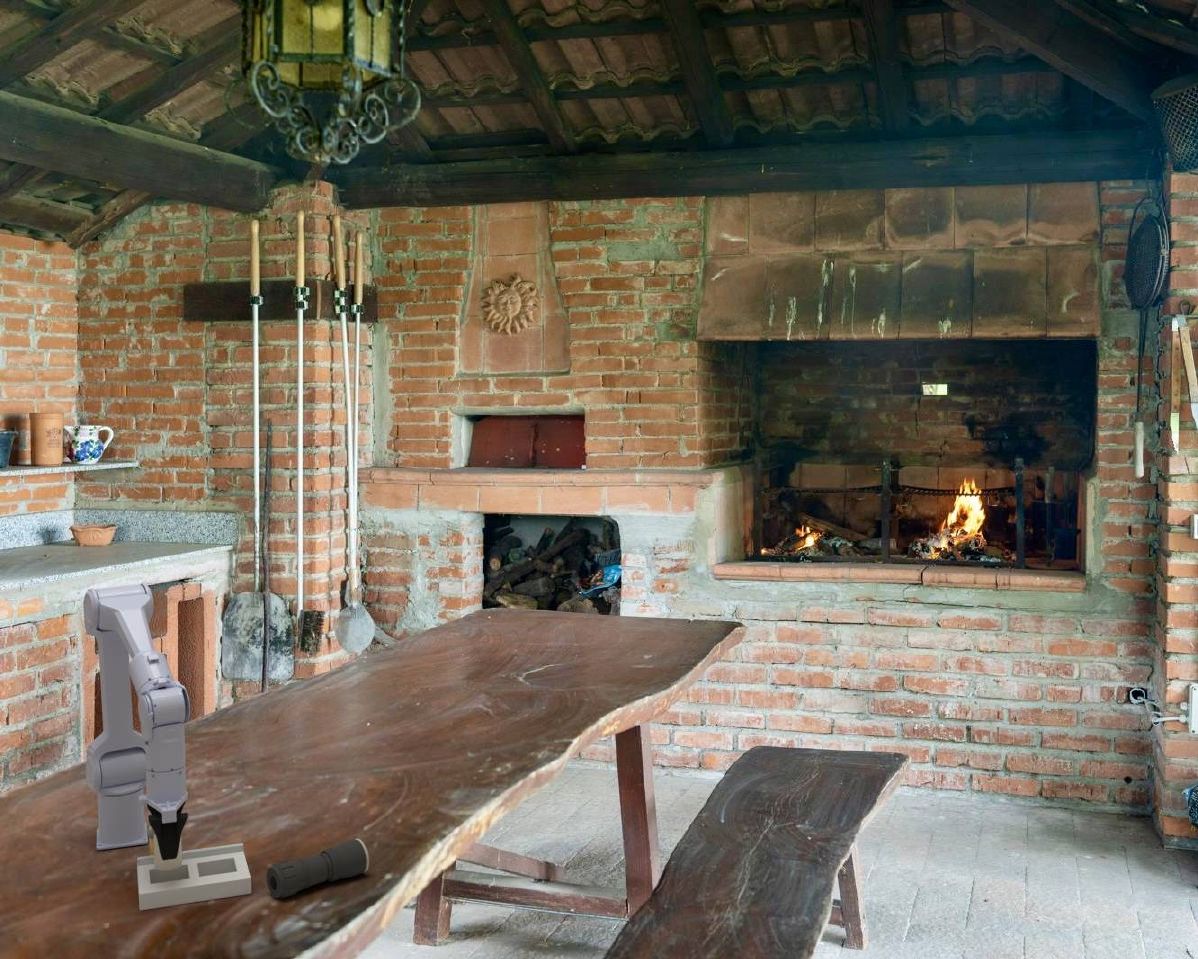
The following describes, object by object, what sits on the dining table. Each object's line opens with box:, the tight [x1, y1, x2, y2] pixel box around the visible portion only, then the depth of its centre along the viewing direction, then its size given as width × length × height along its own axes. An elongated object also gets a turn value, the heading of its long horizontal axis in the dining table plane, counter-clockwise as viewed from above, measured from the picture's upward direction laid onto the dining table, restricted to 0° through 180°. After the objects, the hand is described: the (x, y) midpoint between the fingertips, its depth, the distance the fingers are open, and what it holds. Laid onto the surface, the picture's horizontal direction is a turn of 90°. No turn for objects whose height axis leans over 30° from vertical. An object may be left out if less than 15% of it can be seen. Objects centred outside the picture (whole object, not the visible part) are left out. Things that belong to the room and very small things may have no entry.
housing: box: [136, 842, 252, 911], centre depth 191 cm, size 12×16×4 cm
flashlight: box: [266, 838, 370, 899], centre depth 192 cm, size 15×5×5 cm, turn 132°
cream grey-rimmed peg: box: [151, 827, 183, 871], centre depth 189 cm, size 5×5×7 cm
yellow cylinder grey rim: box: [147, 824, 154, 856], centre depth 198 cm, size 5×5×7 cm
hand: (168, 852), depth 189 cm, fingers closed on cream grey-rimmed peg, 4 cm apart
